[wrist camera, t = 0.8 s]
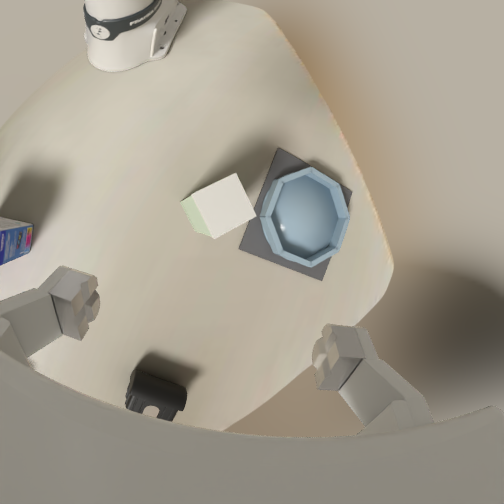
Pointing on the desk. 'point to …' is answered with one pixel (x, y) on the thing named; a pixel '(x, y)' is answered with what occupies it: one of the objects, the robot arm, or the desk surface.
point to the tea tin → (218, 207)
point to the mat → (254, 234)
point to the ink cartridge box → (14, 239)
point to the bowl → (304, 217)
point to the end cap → (155, 395)
